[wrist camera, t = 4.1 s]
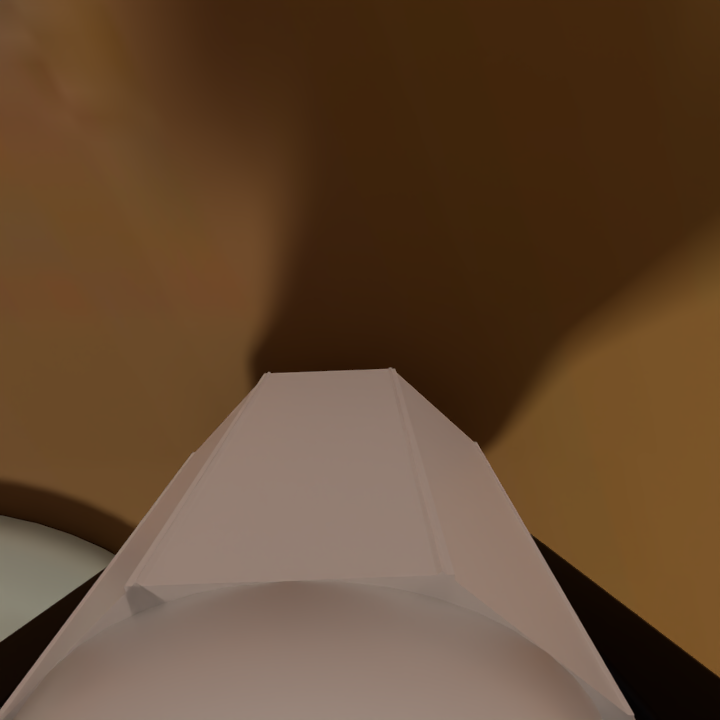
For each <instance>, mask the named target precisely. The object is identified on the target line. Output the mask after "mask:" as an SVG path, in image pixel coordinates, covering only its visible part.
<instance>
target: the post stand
mask: <svg viewBox="0 0 720 720" xmlns="http://www.w3.org/2000/svg"><path fill="white" fill-rule="evenodd" d="M114 557H115V555H114V554H112V553H111V552H109V551H107V550H105V549H104V548H101V547H99V546H97V545H94V544H92V543H90V542H87V541H85V540H83V539H81V538H78V537H76V536H74V535H71V534H68V533H65V532H62V531H59V530H56V529H53V528H50V527H47V526H44V525H41V524H38V523H33V522H29V521H24V520H20V519H15V518H11V517H6V516H2V515H0V642H1V641H2V640H4V639H5V638H7V637H8V636H9V635H11V634H12V633H14V632H15V631H17V630H18V629H19V628H21V627H22V626H24V625H25V624H26V623H28V622H29V621H31V620H32V619H33V618H35V617H36V616H38V615H39V614H41V613H42V612H43V611H45V610H46V609H48V608H49V607H50V606H52V605H53V604H55V603H56V602H58V601H59V600H60V599H62V598H63V597H65V596H66V595H67V594H69V593H70V592H72V591H73V590H75V589H76V588H77V587H79V586H80V585H82V584H83V583H84V582H86V581H87V580H89V579H90V578H91V577H93V576H94V575H96V574H97V573H99V572H100V571H101V570H103V569H104V568H106V567H107V566H108V565H109V563H110V562H111V561H112V559H113V558H114Z"/></svg>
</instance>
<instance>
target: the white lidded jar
mask: <svg viewBox="0 0 720 720" xmlns="http://www.w3.org/2000/svg"><path fill="white" fill-rule="evenodd" d="M0 720H636V719H635V718H634V713H633V711H632V710H631V708H630V706H629V705H628V703H627V701H626V699H625V698H624V696H623V694H622V692H621V691H620V689H619V687H618V686H617V684H616V682H615V680H614V679H613V677H612V675H611V673H610V672H609V670H608V668H607V667H606V665H605V663H604V661H603V660H602V658H601V656H600V654H599V653H598V651H597V649H596V647H595V646H594V644H593V642H592V641H591V639H590V637H589V635H588V634H587V632H586V630H585V628H584V627H583V625H582V623H581V622H580V620H579V618H578V616H577V615H576V613H575V611H574V609H573V608H572V606H571V604H570V602H569V601H568V599H567V597H566V596H565V594H564V592H563V590H562V589H561V587H560V585H559V583H558V582H557V580H556V578H555V577H554V575H553V573H552V571H551V570H550V568H549V566H548V564H547V563H546V561H545V559H544V558H543V556H542V554H541V552H540V551H539V549H538V547H537V545H536V544H535V542H534V540H533V538H532V537H531V535H530V533H529V532H528V530H527V528H526V526H525V525H524V523H523V521H522V519H521V518H520V516H519V514H518V513H517V511H516V509H515V507H514V506H513V504H512V502H511V500H510V499H509V497H508V495H507V494H506V492H505V490H504V488H503V487H502V485H501V483H500V481H499V480H498V478H497V476H496V474H495V473H494V471H493V469H492V468H491V466H490V464H489V462H488V461H487V459H486V457H485V455H484V454H483V452H482V450H481V449H480V447H479V445H478V443H477V442H473V441H472V440H471V439H470V438H469V437H468V436H467V435H466V434H465V433H463V432H462V431H461V430H460V429H459V428H458V427H457V426H456V425H454V424H453V423H452V422H451V421H450V420H449V419H448V418H447V417H446V416H444V415H443V414H442V413H441V412H440V411H439V410H438V409H437V408H436V407H434V406H433V405H432V404H431V403H430V402H429V401H428V400H427V399H426V398H424V397H423V396H422V395H421V394H420V393H419V392H418V391H417V390H416V389H414V388H413V387H412V386H411V385H410V384H409V383H408V382H407V381H405V380H404V379H403V378H402V377H401V376H400V375H399V374H398V373H397V372H396V369H392V368H391V367H390V368H389V369H370V370H343V371H317V372H290V373H270V372H268V373H264V374H263V376H262V377H261V379H260V380H259V382H258V384H257V385H256V386H255V387H254V388H253V389H252V390H251V392H250V393H249V394H248V395H247V396H246V397H245V398H244V399H243V400H242V401H241V403H240V404H239V405H238V406H237V407H236V408H235V409H234V410H233V411H232V412H231V414H230V415H229V416H228V417H227V418H226V419H225V420H224V421H223V422H222V423H221V425H220V426H219V427H218V428H217V429H216V430H215V431H214V432H213V433H212V434H211V435H210V437H209V438H208V439H207V440H206V441H205V442H204V443H203V444H202V445H201V446H200V448H199V449H198V450H197V451H196V452H192V454H191V455H190V456H189V458H188V459H187V460H186V462H185V463H184V464H183V466H182V467H181V468H180V470H179V471H178V472H177V474H176V475H175V476H174V478H173V479H172V480H171V482H170V483H169V484H168V486H167V487H166V488H165V490H164V491H163V492H162V494H161V495H160V496H159V498H158V499H157V501H156V502H155V503H154V505H153V506H152V507H151V509H150V510H149V511H148V513H147V514H146V515H145V517H144V518H143V519H142V521H141V522H140V523H139V525H138V526H137V527H136V529H135V530H134V531H133V533H132V534H131V535H130V537H129V538H128V539H127V541H126V542H125V543H124V545H123V546H122V547H121V549H120V550H119V551H118V553H117V554H116V555H115V557H114V558H113V559H112V561H111V562H110V563H109V565H108V566H107V567H106V569H105V570H104V571H103V573H102V574H101V575H100V577H99V578H98V579H97V581H96V582H95V583H94V585H93V586H92V587H91V589H90V590H89V591H88V593H87V594H86V595H85V597H84V598H83V599H82V601H81V602H80V604H79V605H78V606H77V608H76V609H75V610H74V612H73V613H72V614H71V616H70V617H69V618H68V620H67V621H66V622H65V624H64V625H63V626H62V628H61V629H60V630H59V632H58V633H57V634H56V636H55V637H54V638H53V640H52V641H51V642H50V644H49V645H48V646H47V648H46V649H45V650H44V652H43V653H42V654H41V656H40V657H39V658H38V660H37V661H36V662H35V664H34V665H33V666H32V668H31V669H30V670H29V672H28V673H27V674H26V676H25V677H24V678H23V680H22V681H21V682H20V684H19V685H18V686H17V688H16V689H15V690H14V692H13V693H12V694H11V696H10V697H9V698H8V700H7V701H6V702H5V704H4V705H3V706H2V708H1V709H0Z"/></svg>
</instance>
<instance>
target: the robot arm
mask: <svg viewBox="0 0 720 720" xmlns="http://www.w3.org/2000/svg"><path fill="white" fill-rule="evenodd" d="M530 535H531V537H532V538H533V540H534V542H535V544H536V545H537V547H538V549H539V551H540V552H541V554H542V556H543V558H544V559H545V561H546V563H547V564H548V566H549V568H550V570H551V571H552V573H553V575H554V577H555V578H556V580H557V582H558V583H559V585H560V587H561V589H562V590H563V592H564V594H565V596H566V597H567V599H568V601H569V602H570V604H571V606H572V608H573V609H574V611H575V613H576V615H577V616H578V618H579V620H580V622H581V623H582V625H583V627H584V628H585V630H586V632H587V634H588V635H589V637H590V639H591V641H592V642H593V644H594V646H595V647H596V649H597V651H598V653H599V654H600V656H601V658H602V660H603V661H604V663H605V665H606V667H607V668H608V670H609V672H610V673H611V675H612V677H613V679H614V680H615V682H616V684H617V686H618V687H619V689H620V691H621V692H622V694H623V696H624V698H625V699H626V701H627V703H628V705H629V706H630V708H631V710H632V711H633V713H634V718H635V719H636V720H720V677H718V676H717V675H716V674H714V673H713V672H712V671H710V670H709V669H708V668H707V667H705V666H704V665H703V664H701V663H700V662H699V661H697V660H696V659H695V658H693V657H692V656H691V655H689V654H688V653H687V652H685V651H684V650H683V649H682V648H680V647H679V646H678V645H676V644H675V643H674V642H672V641H671V640H670V639H668V638H667V637H666V636H664V635H663V634H662V633H660V632H659V631H658V630H657V629H655V628H654V627H653V626H651V625H650V624H649V623H647V622H646V621H645V620H643V619H642V618H641V617H639V616H638V615H637V614H635V613H634V612H633V611H632V610H630V609H629V608H628V607H626V606H625V605H624V604H622V603H621V602H620V601H618V600H617V599H616V598H614V597H613V596H612V595H610V594H609V593H608V592H607V591H605V590H604V589H603V588H601V587H600V586H599V585H597V584H596V583H595V582H593V581H592V580H591V579H589V578H588V577H587V576H585V575H584V574H583V573H582V572H580V571H579V570H578V569H576V568H575V567H574V566H572V565H571V564H570V563H568V562H567V561H566V560H564V559H563V558H562V557H560V556H559V555H558V554H557V553H555V552H554V551H553V550H551V549H550V548H549V547H547V546H546V545H545V544H543V543H542V542H541V541H539V540H538V539H537V538H535V537H534V536H533V535H532V534H530ZM105 569H106V568H104V569H103V570H101V571H100V572H99V573H97V574H96V575H94V576H93V577H91V578H90V579H89V580H87V581H86V582H84V583H83V584H82V585H80V586H79V587H77V588H76V589H75V590H73V591H72V592H70V593H69V594H67V595H66V596H65V597H63V598H62V599H60V600H59V601H58V602H56V603H55V604H53V605H52V606H50V607H49V608H48V609H46V610H45V611H43V612H42V613H41V614H39V615H38V616H36V617H35V618H33V619H32V620H31V621H29V622H28V623H26V624H25V625H24V626H22V627H21V628H19V629H18V630H17V631H15V632H14V633H12V634H11V635H9V636H8V637H7V638H5V639H4V640H2V641H1V642H0V709H1V708H2V706H3V705H4V704H5V702H6V701H7V700H8V698H9V697H10V696H11V694H12V693H13V692H14V690H15V689H16V688H17V686H18V685H19V684H20V682H21V681H22V680H23V678H24V677H25V676H26V674H27V673H28V672H29V670H30V669H31V668H32V666H33V665H34V664H35V662H36V661H37V660H38V658H39V657H40V656H41V654H42V653H43V652H44V650H45V649H46V648H47V646H48V645H49V644H50V642H51V641H52V640H53V638H54V637H55V636H56V634H57V633H58V632H59V630H60V629H61V628H62V626H63V625H64V624H65V622H66V621H67V620H68V618H69V617H70V616H71V614H72V613H73V612H74V610H75V609H76V608H77V606H78V605H79V604H80V602H81V601H82V599H83V598H84V597H85V595H86V594H87V593H88V591H89V590H90V589H91V587H92V586H93V585H94V583H95V582H96V581H97V579H98V578H99V577H100V575H101V574H102V573H103V571H104V570H105Z"/></svg>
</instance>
